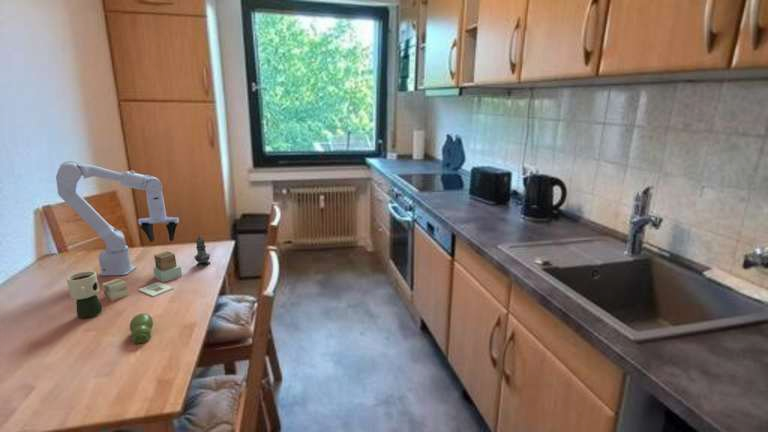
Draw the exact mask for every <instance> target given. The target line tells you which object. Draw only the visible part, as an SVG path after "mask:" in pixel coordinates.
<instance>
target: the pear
mask: <svg viewBox="0 0 768 432" xmlns="http://www.w3.org/2000/svg"><path fill="white" fill-rule="evenodd" d="M153 326H154V320H153V317H152V316H151V315H150V314H148V313H138V314H136V315H134V316H133V318H132V319H131V321H130V323H129V331H130V332H131V342H132V343H133V344H134V345H137V344H144V343H147V342H149V341H150V339H151V338H152V335H151V330H152V328H153Z"/></svg>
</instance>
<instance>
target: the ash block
mask: <svg viewBox="0 0 768 432" xmlns="http://www.w3.org/2000/svg"><path fill="white" fill-rule="evenodd" d="M101 285H102V290H103V294H104V295H103V296H104V298H105V299H108V300H109V301H111V302H113V301H116V300H119V299H121V298H125V297H127V296H129V292H128V287H127V282H126V280H123V279H121V278H115V279H112V280H109V281H106V282H103V283H101Z"/></svg>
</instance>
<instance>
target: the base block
mask: <svg viewBox="0 0 768 432" xmlns="http://www.w3.org/2000/svg"><path fill="white" fill-rule="evenodd" d="M176 266H177V267H174V268H171V269H168V270H165V271H162V270H160V269H158V268H156V266H154V267H153V268H152V269H153V275H154V278H156V279H157V280H159V282H161V283H163V282H167V281H171V280H173V279H177V278H180V277H182V276H183V271H182V267H181V266H180V265H178V264H177V263H176Z"/></svg>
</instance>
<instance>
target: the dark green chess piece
mask: <svg viewBox="0 0 768 432" xmlns="http://www.w3.org/2000/svg"><path fill="white" fill-rule="evenodd" d="M195 240H196V242H195V243H196V247H195V249H196V251H197V253H196V255H195V256H193V257H194V259H195V261H196V262H197V263H196V264H195V266H196V267H199V268H203V267H208V266H210V265H211V262H210V261H209V260H210V257H211V254H210V253H207V251H206V247H207V246H206V244H205V239H204V238H203V237H201V236H200V235H199V236H198V238H196V239H195Z"/></svg>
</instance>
